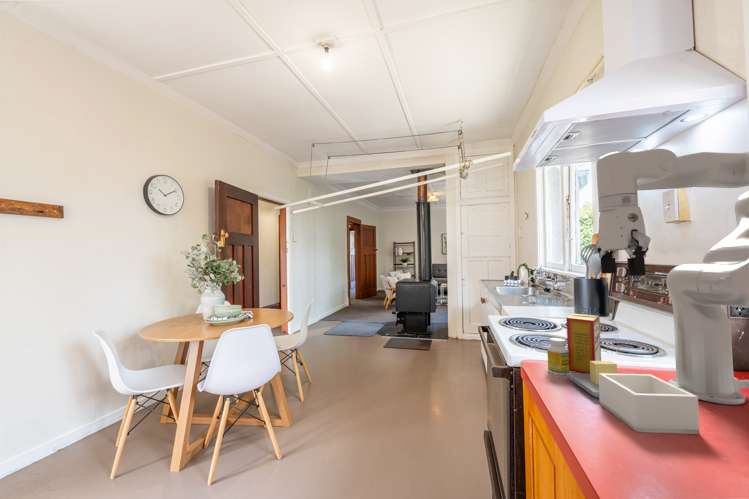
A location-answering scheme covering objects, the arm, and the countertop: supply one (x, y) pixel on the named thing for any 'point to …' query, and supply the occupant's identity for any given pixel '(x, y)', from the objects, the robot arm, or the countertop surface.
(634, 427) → the parts tub
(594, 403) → the countertop surface
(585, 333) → the baking soda box
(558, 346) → the supplement bottle
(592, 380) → the lid
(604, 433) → the countertop surface
